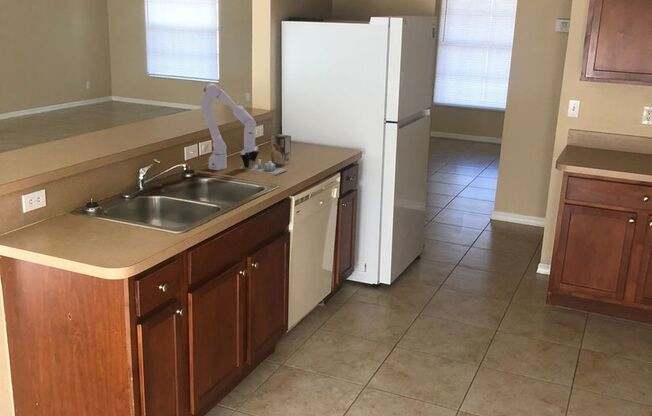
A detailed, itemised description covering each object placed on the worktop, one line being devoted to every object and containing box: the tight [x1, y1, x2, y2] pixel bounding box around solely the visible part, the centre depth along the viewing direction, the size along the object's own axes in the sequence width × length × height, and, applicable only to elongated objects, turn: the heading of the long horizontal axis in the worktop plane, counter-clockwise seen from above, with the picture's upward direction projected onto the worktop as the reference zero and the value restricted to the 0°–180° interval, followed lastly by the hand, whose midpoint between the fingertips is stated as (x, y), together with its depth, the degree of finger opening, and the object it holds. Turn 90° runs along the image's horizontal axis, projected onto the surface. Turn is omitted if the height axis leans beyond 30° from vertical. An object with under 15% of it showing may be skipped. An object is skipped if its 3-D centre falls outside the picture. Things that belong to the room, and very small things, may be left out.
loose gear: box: [246, 160, 256, 168], centre depth 352 cm, size 6×6×3 cm
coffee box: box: [270, 133, 292, 166], centre depth 363 cm, size 9×6×16 cm
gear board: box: [239, 159, 288, 177], centre depth 349 cm, size 12×22×6 cm, turn 66°
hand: (249, 165), depth 353 cm, fingers closed on loose gear, 5 cm apart
